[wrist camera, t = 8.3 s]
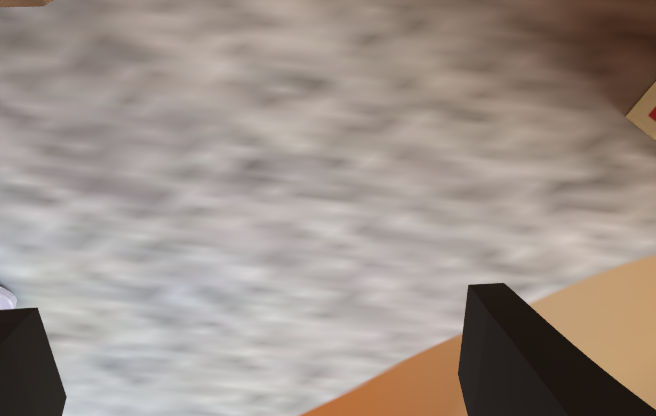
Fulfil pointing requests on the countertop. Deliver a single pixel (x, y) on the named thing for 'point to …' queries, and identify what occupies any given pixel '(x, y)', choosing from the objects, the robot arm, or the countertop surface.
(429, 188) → the countertop surface
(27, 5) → the keeper board
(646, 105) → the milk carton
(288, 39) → the countertop surface
